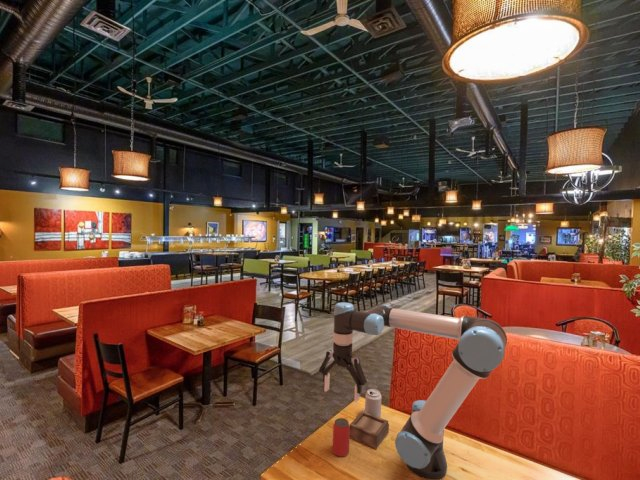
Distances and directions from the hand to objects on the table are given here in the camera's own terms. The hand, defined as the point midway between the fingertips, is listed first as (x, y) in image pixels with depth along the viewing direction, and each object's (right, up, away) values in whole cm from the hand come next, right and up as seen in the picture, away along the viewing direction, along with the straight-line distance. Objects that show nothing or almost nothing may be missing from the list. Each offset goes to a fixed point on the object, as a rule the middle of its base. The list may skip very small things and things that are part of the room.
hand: (341, 395), depth 126 cm
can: (+16, -22, +24) cm, 37 cm away
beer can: (0, -23, 0) cm, 23 cm away
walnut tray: (+13, -22, +11) cm, 28 cm away
